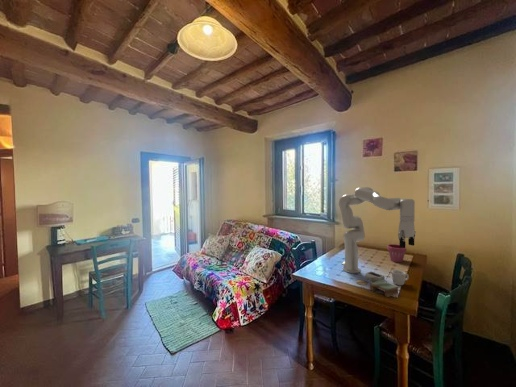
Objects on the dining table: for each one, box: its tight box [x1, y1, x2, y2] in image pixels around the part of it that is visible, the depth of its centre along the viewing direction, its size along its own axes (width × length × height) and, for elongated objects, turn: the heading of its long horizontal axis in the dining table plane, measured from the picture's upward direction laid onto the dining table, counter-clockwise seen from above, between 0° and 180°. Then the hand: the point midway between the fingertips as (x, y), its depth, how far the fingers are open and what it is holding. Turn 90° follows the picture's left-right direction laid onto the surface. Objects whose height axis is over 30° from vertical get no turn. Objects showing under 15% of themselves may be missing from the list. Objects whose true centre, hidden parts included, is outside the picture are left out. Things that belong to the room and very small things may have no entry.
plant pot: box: [386, 243, 407, 263], centre depth 197 cm, size 14×14×13 cm
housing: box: [365, 271, 386, 283], centre depth 156 cm, size 10×6×5 cm, turn 28°
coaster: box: [355, 279, 368, 286], centre depth 154 cm, size 7×7×1 cm
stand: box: [369, 280, 399, 298], centre depth 142 cm, size 12×10×4 cm
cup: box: [391, 269, 409, 286], centre depth 152 cm, size 11×8×8 cm
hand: (406, 246), depth 139 cm, fingers open, 9 cm apart
